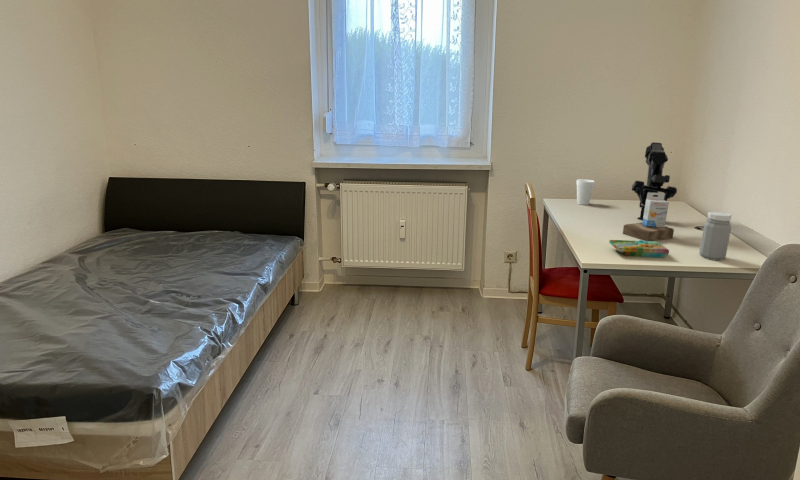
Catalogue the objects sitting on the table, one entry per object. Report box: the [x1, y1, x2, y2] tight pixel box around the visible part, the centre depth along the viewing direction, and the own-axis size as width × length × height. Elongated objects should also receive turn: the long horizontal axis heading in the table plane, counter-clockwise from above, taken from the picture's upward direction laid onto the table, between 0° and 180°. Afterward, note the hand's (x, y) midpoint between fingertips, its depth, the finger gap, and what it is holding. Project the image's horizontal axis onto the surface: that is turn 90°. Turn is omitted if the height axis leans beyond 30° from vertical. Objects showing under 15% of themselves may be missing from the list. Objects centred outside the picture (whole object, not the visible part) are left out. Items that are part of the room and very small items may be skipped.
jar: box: [699, 211, 732, 261], centre depth 243 cm, size 10×10×18 cm
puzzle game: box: [608, 239, 670, 258], centre depth 246 cm, size 12×5×20 cm
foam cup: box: [575, 178, 596, 206], centre depth 335 cm, size 10×9×13 cm
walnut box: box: [622, 222, 675, 242], centre depth 274 cm, size 16×14×5 cm
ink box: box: [641, 192, 670, 227], centre depth 272 cm, size 8×5×15 cm, turn 93°
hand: (652, 205), depth 279 cm, fingers open, 9 cm apart
